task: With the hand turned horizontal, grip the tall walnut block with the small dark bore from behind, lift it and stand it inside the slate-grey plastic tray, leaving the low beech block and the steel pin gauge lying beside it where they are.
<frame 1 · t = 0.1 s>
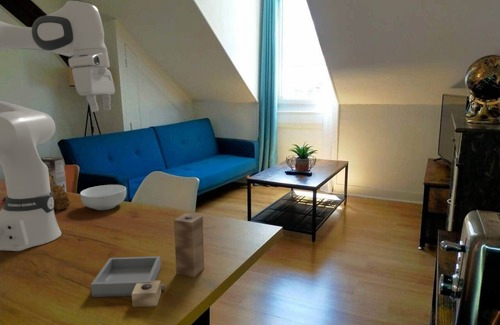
hand: (101, 110, 103), 39 cm above the table, tool pointing down, fingers open, 8 cm apart
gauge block: (147, 299, 76), on the table
coffee box: (53, 193, 159), on the table
cereal bowl: (105, 207, 139), on the table
stuffed squirrel: (54, 209, 137), on the table
tray: (129, 281, 84), on the table
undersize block: (190, 271, 88), on the table
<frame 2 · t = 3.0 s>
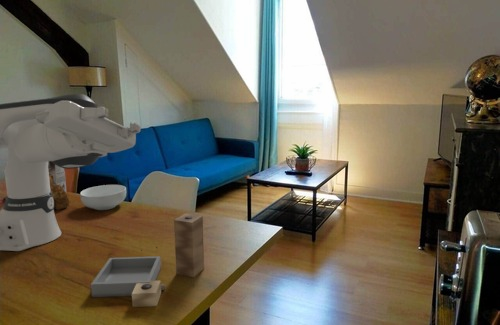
hand: (123, 119, 73), 38 cm above the table, tool horizontal, fingers open, 8 cm apart
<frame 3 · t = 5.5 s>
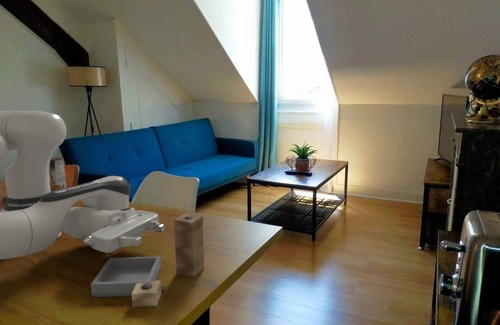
hand: (151, 234, 91), 8 cm above the table, tool horizontal, fingers open, 8 cm apart
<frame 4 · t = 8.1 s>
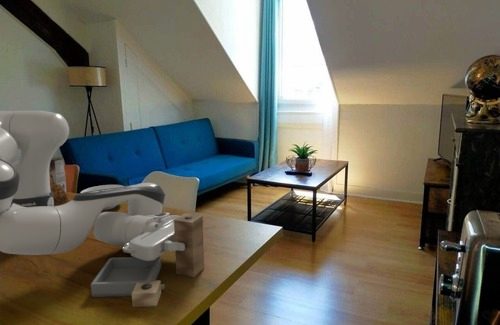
hand: (192, 241, 86), 8 cm above the table, tool horizontal, fingers closed on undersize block, 5 cm apart
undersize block: (190, 271, 88), on the table, touching gripper
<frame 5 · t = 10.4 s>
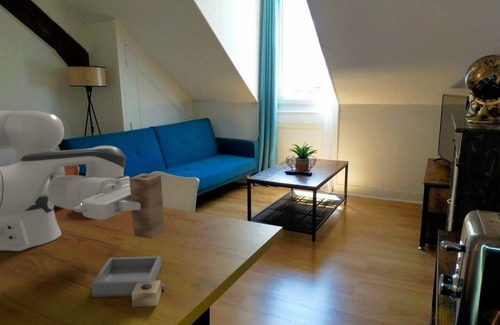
hand: (150, 201, 82), 19 cm above the table, tool horizontal, fingers closed on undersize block, 5 cm apart
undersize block: (149, 233, 84), point 11 cm above the table, touching gripper
when the fingers open (10 cm above the table, at t = 12.9 s): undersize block drops 1 cm, resting on tray.
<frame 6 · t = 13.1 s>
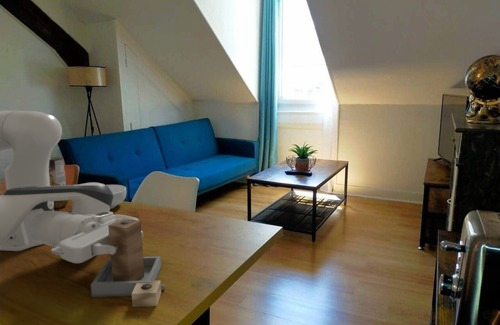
hand: (129, 242, 81), 10 cm above the table, tool horizontal, fingers open, 7 cm apart
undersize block: (128, 279, 83), point 1 cm above the table, touching tray
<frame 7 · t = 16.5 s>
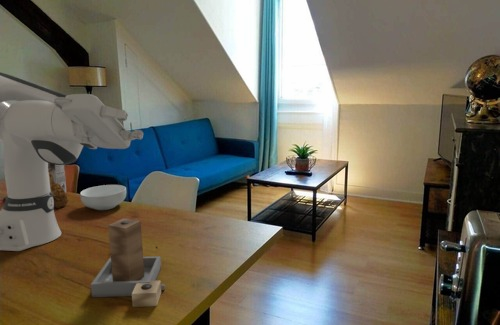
hand: (134, 125, 79), 37 cm above the table, tool horizontal, fingers open, 8 cm apart
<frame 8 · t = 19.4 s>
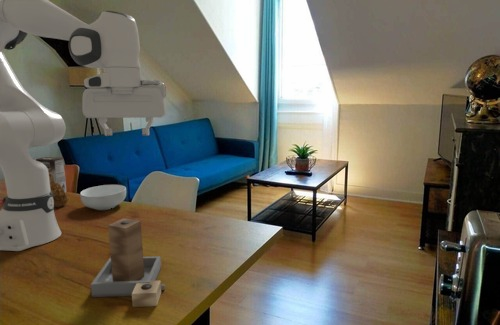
hand: (127, 135, 91), 33 cm above the table, tool pointing down, fingers open, 8 cm apart
at the end: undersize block inside the target area on the tray (0.1 cm from its centre), point 0.6 cm above the tray's base; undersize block tilted 0°; the gripper is holding nothing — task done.
